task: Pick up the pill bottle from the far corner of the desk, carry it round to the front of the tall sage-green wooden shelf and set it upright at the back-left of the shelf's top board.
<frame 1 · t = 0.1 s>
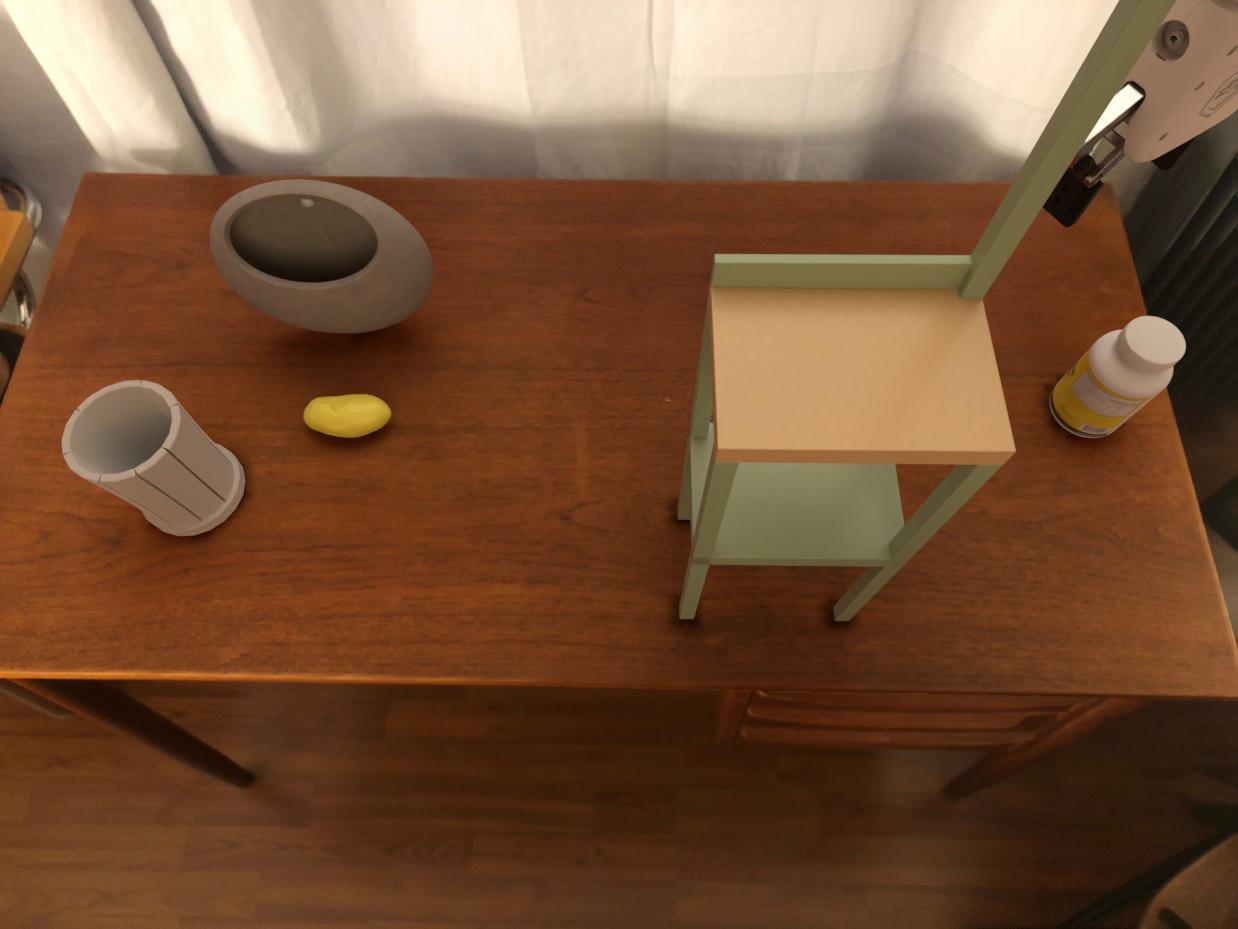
hand: (1103, 184, 57), 22 cm above the table, tool pointing down, fingers open, 9 cm apart
yellow potato: (354, 426, 74), on the table
planter: (359, 327, 79), on the table
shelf: (760, 562, 68), on the table
cup: (192, 488, 72), on the table
pill bottle: (1080, 411, 74), on the table
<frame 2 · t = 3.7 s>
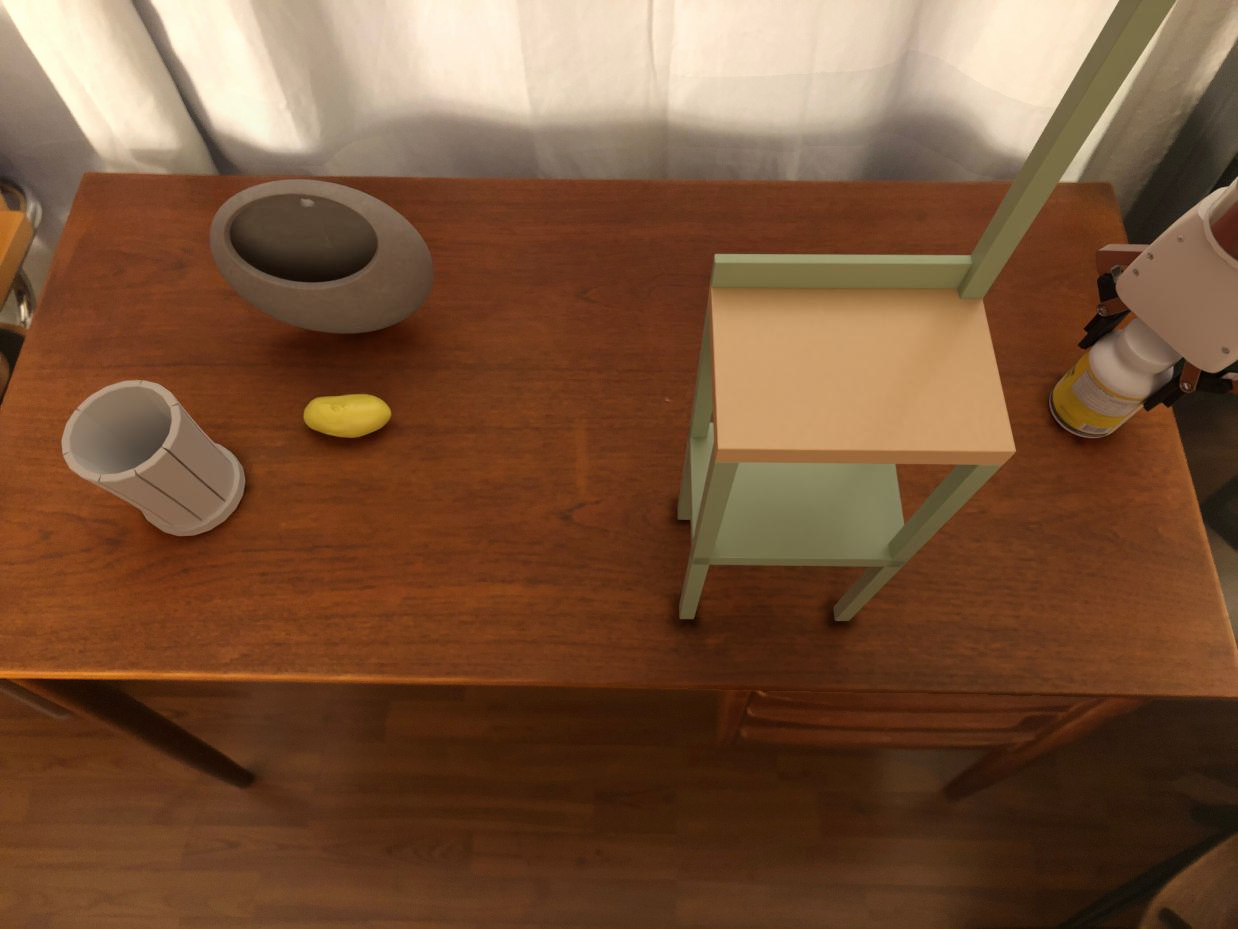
hand: (1124, 369, 68), 7 cm above the table, tool pointing down, fingers closed on pill bottle, 6 cm apart
pill bottle: (1080, 411, 74), on the table, touching gripper
everything else where it was.
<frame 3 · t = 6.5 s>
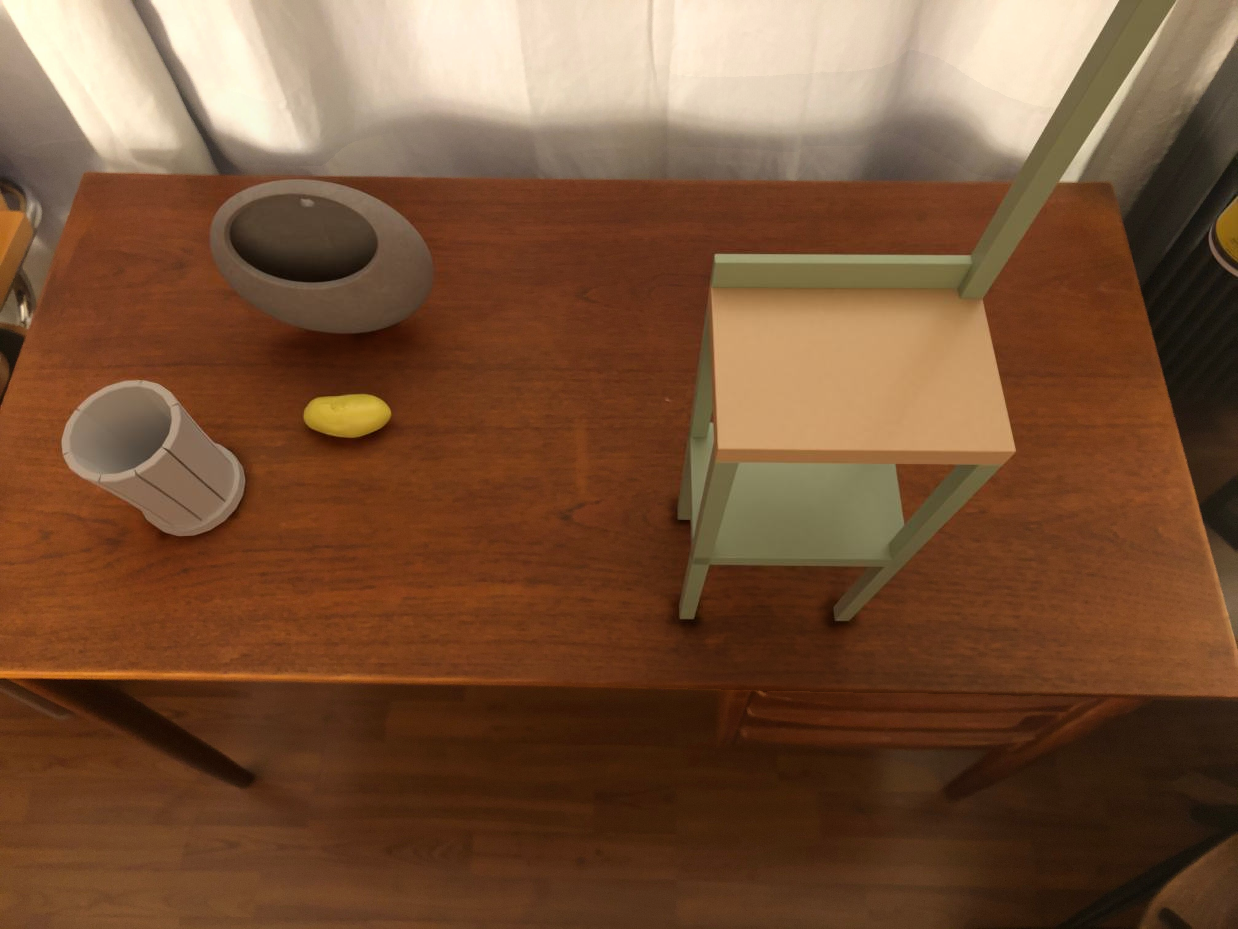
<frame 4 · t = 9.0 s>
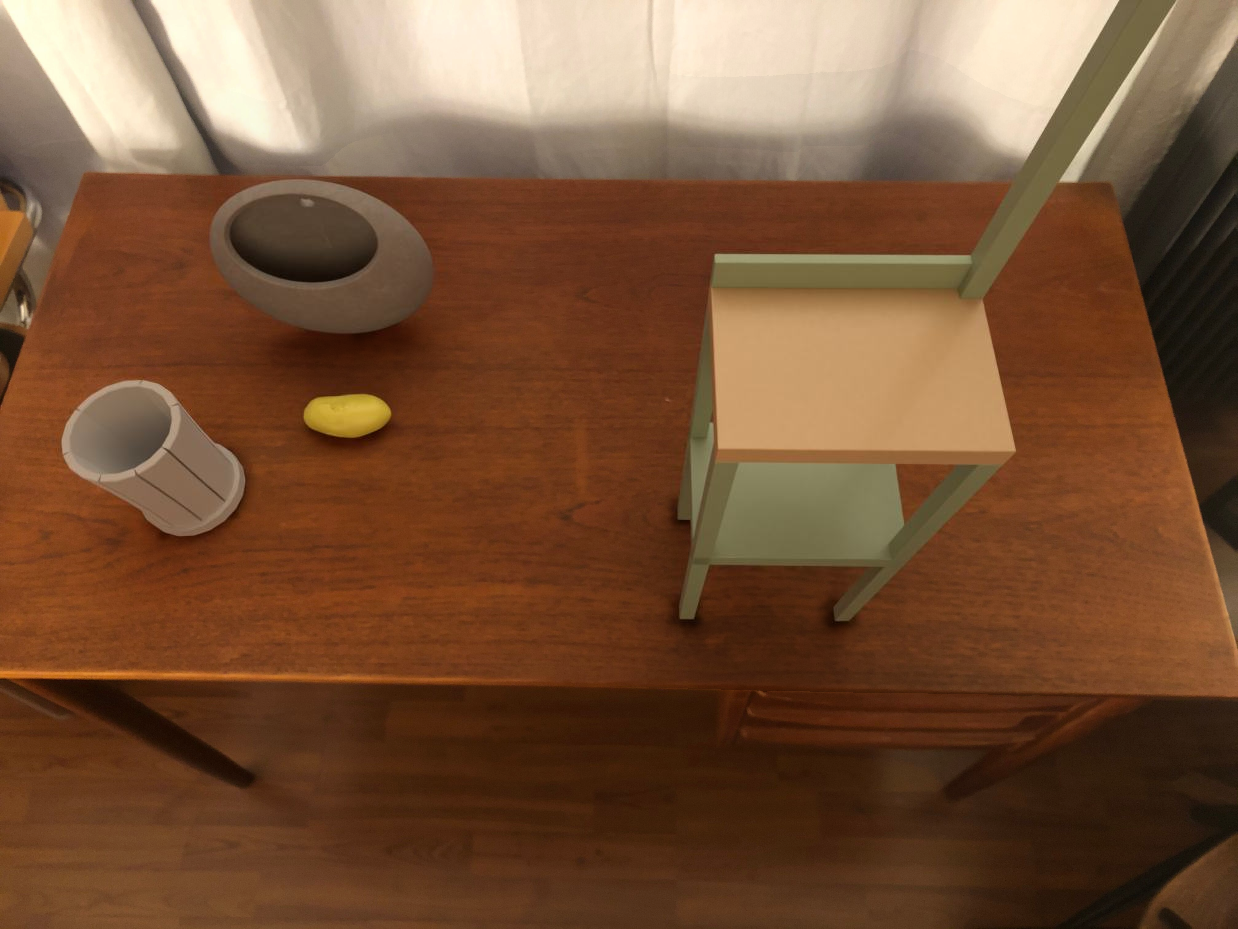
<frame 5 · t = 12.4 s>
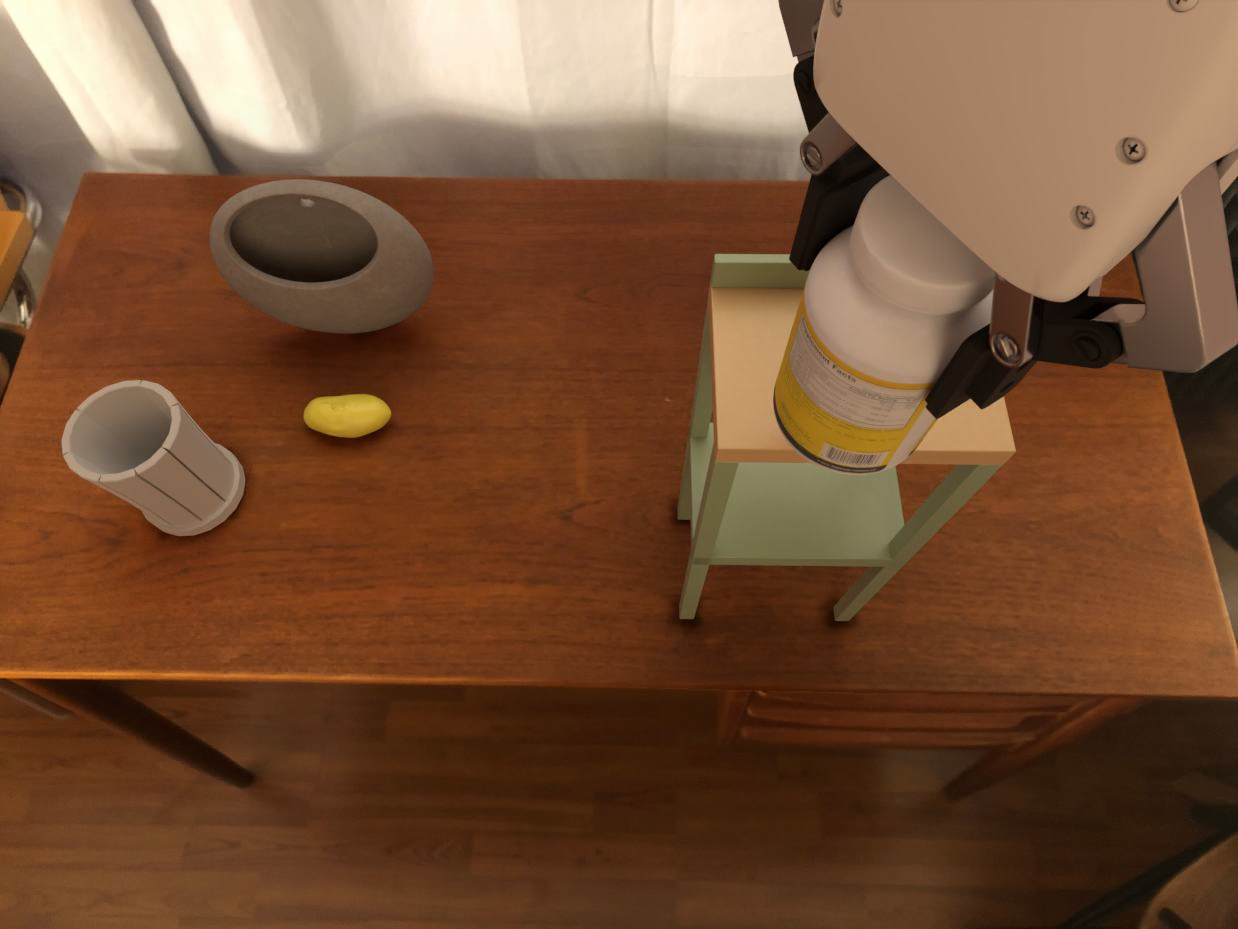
hand: (892, 315, 28), 42 cm above the table, tool pointing down, fingers closed on pill bottle, 6 cm apart
pill bottle: (843, 415, 34), point 35 cm above the table, touching gripper
everything else where it was.
when the fingers open (38 cm above the table, at t = 14.7 s): pill bottle stays where it is, resting on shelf.
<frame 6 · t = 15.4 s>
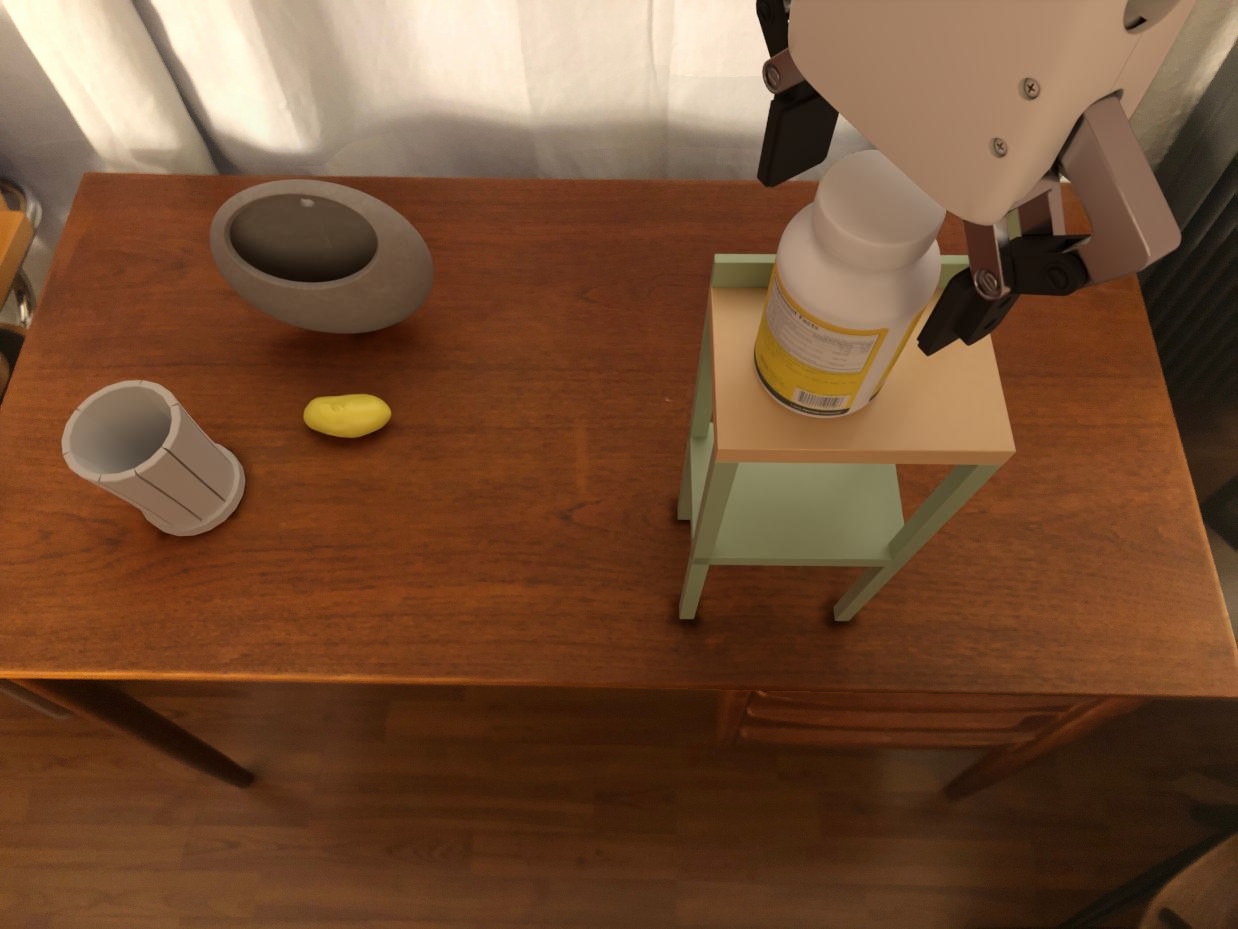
hand: (866, 247, 31), 40 cm above the table, tool pointing down, fingers open, 9 cm apart
pill bottle: (815, 369, 40), point 31 cm above the table, touching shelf
everything else where it was.
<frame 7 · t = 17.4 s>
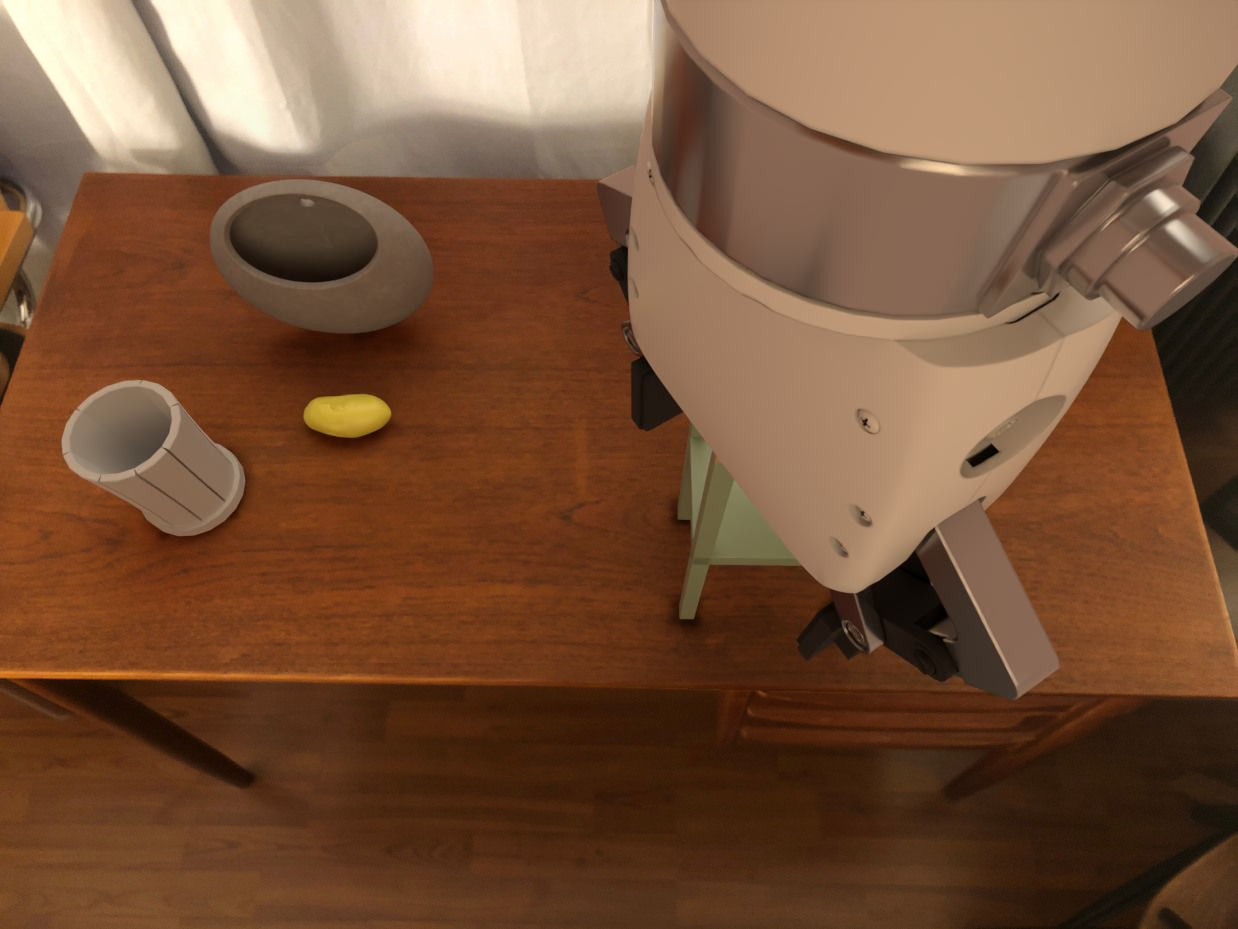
hand: (749, 511, 28), 40 cm above the table, tool pointing down, fingers open, 9 cm apart
nothing on the table moved.
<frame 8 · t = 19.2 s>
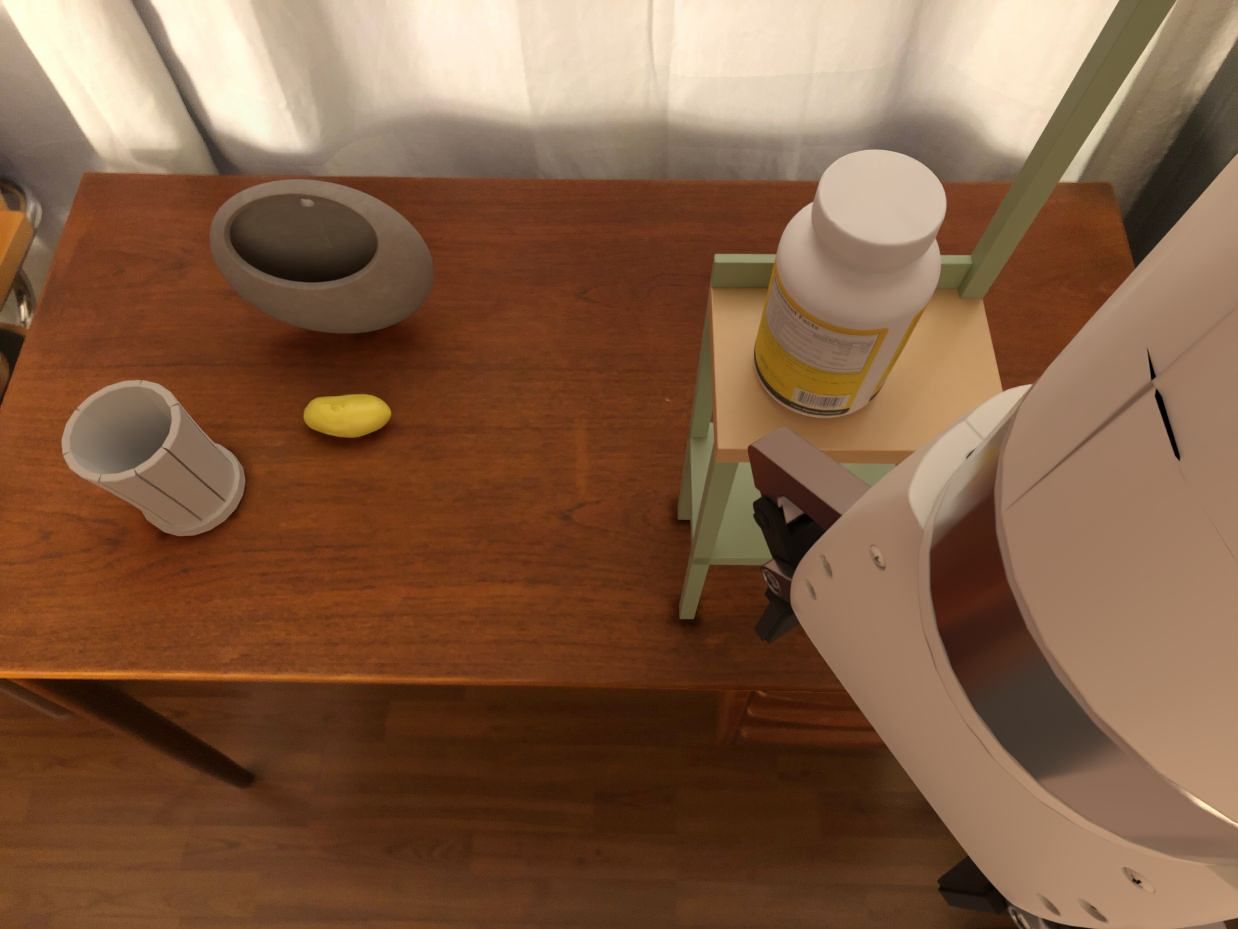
hand: (878, 732, 27), 36 cm above the table, tool pointing down, fingers open, 9 cm apart
nothing on the table moved.
at the end: pill bottle 0.2 cm from the target spot on the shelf, point 31.3 cm above the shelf's base; pill bottle tilted 0° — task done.
